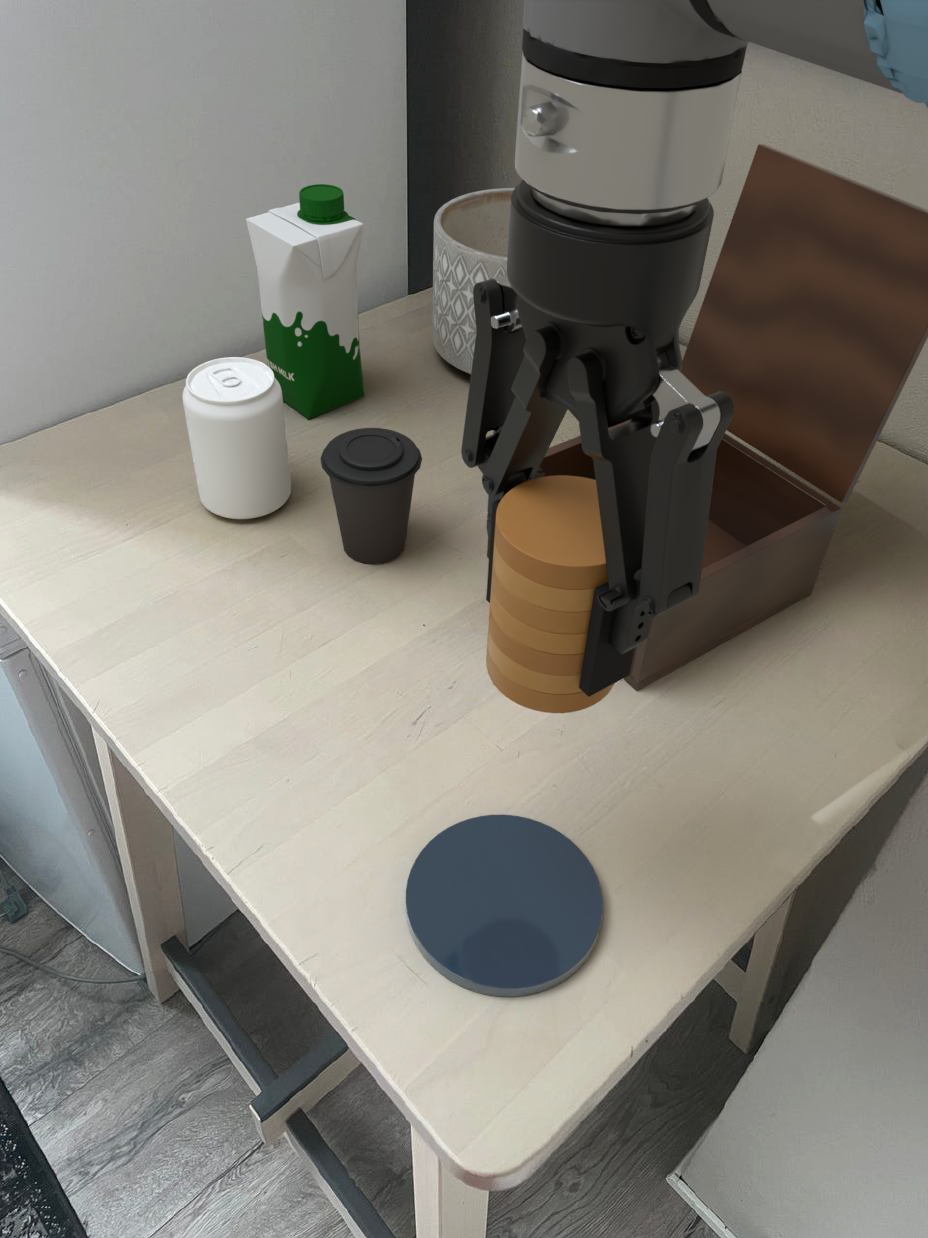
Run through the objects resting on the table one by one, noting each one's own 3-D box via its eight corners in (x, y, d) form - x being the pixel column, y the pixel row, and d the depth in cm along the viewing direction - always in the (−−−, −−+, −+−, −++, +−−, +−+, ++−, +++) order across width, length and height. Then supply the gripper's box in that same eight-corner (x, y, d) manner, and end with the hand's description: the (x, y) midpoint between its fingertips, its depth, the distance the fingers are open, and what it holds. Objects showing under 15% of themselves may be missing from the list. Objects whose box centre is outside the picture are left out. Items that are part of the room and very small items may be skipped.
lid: (974, 230, 67) (1010, 231, 70) (757, 143, 78) (797, 147, 81) (841, 503, 79) (877, 493, 82) (669, 394, 90) (707, 389, 93)
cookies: (644, 678, 54) (676, 531, 48) (540, 734, 51) (560, 586, 45) (560, 603, 58) (579, 459, 52) (460, 651, 55) (466, 504, 49)
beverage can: (222, 535, 88) (203, 414, 80) (186, 487, 93) (164, 369, 85) (307, 506, 92) (297, 387, 83) (267, 461, 96) (254, 345, 88)
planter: (476, 298, 122) (482, 175, 113) (624, 336, 117) (643, 209, 107) (401, 367, 110) (400, 235, 100) (562, 413, 104) (578, 278, 95)
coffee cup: (440, 537, 89) (442, 439, 82) (383, 588, 84) (381, 488, 77) (365, 504, 92) (361, 407, 85) (307, 551, 87) (298, 452, 80)
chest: (636, 691, 77) (656, 602, 70) (486, 556, 87) (492, 469, 81) (812, 593, 85) (842, 507, 79) (655, 482, 96) (672, 399, 90)
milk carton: (377, 397, 106) (372, 200, 92) (305, 427, 101) (288, 225, 87) (325, 363, 110) (313, 171, 96) (254, 391, 106) (231, 194, 92)
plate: (641, 926, 62) (644, 918, 62) (483, 1037, 57) (483, 1029, 56) (520, 794, 69) (521, 785, 69) (368, 882, 64) (367, 873, 63)
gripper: (382, 124, 42) (391, 558, 58) (743, 321, 30) (630, 797, 46) (527, 96, 45) (498, 514, 61) (902, 264, 34) (747, 727, 49)
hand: (555, 635), depth 53 cm, fingers closed on cookies, 7 cm apart
